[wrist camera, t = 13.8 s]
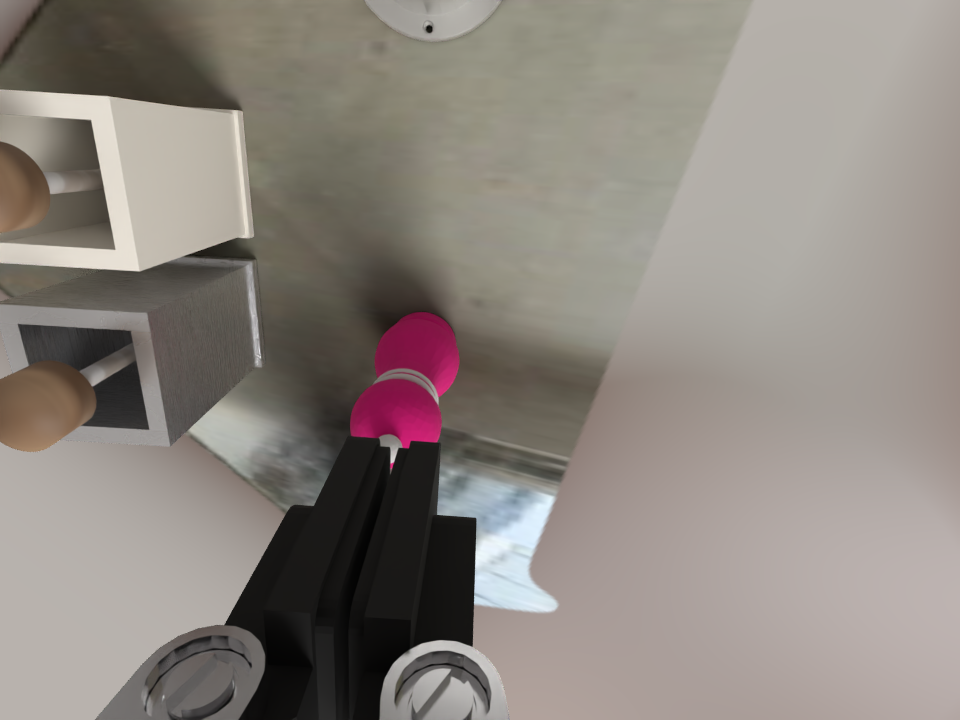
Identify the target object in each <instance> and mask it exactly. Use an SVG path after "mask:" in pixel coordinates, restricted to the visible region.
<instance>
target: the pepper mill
mask: <svg viewBox="0 0 960 720" xmlns="http://www.w3.org/2000/svg"><path fill="white" fill-rule="evenodd" d="M458 367H459V353H458V349H457V346H456V339H455V335H454V333H453V331H452V329H451V327H450V326H449V325H448V323H447V322H446V321H445V320H443V319H442V318H440V317H439V316H436V315H434V314H432V313H427V312H416V313H411V314H409V315H407V316H404V317H403V318H402V319H400V320H399V321H398V322H397V323H396V324H395V325H394V326H392V327H391V328H390V329H389V330H388V331H386V332H385V334H384V335H383V336H382V338H381V340H380V341H379V344H378V347H377V350H376V354H375V369H376V374H377V378H378V379H377V380H376V381H375V382H374V383H373V385H372V386H370V387H369V388H367V389H366V390H365V391H364V392H363V393H362V394H361V396H360V397H359V398H358V400H357V401H356V403H355V405H354V408H353V410H352V414H351V419H350V430H351V435H352V436H356V437H370V438H379V439H380V444H381V446H385V447H390V450H391V465H390V468H392V467H393V464H394V461H395V457H396V454H397V451H398V448H409V445H410V442H411V441H424V442H437V441H438V439H439V436H440V432H441V423H442V420H441V412H440V409H439V407H438V397H440V396H441V395H442V394H443V393H444V392H445V391H446V390H448V388H449V387H450V386H451V384H452V383H453V381H454V379H455V377H456V374H457V371H458Z"/></svg>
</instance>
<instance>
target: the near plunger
mask: <svg viewBox="0 0 960 720" xmlns="http://www.w3.org/2000/svg"><path fill="white" fill-rule="evenodd" d="M97 189H104V185H103V180H102V175H101V169H96V170H76V171H55V172H42V170H41V169H40V167H39V166H38V165H37V164H36V162H35V161H34V160H33V159H32V158H31V157H30V156H29V155H27V154H26V153H25V152H24V151H22V150H21V149H19V148H17V147H15V146H13V145H11V144H8V143H5V142H1V141H0V233H3V232H9V231H15V230H21V229H27V228H31V227H34V226H36V225H37V224H39V223H40V222H41V221H42V220H43V219H44V218H45V216H46V215H47V213H48V211H49V207H50V194H58V193H67V192H77V191H87V190H97Z"/></svg>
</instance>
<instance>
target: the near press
mask: <svg viewBox="0 0 960 720" xmlns="http://www.w3.org/2000/svg"><path fill="white" fill-rule="evenodd" d="M0 141H1V142H5V143H8V144H11V145H13V146H15V147H17V148H19V149H21V150H22V151H24V152H25V153H26V154H27V155H29V156H30V157H31V158H32V159H33V160H34V161H35V162H36V164H37V165H38V166H39V167H40V169H41V170H42V172H55V171H76V170H96V169H101V175H102V180H103V185H104V189H97V190H87V191H77V192H67V193H58V194H50V207H49V211H48V213H47V215H46V216H45V218H44V219H43V220H42V221H41V222H40V223H39V224H37V225H36V226H34V227H31V228H27V229H21V230H15V231H9V232H3V233H0V263H12V264H28V265H44V266H60V267H76V268H93V269H109V270H125V271H142V270H145V269H148V268H151V267H154V266H157V265H160V264H162V263H165V262H168V261H171V260H174V259H177V258H180V257H182V256H185V255H188V254H191V253H194V252H197V251H200V250H203V249H205V248H208V247H211V246H214V245H217V244H220V243H223V242H226V241H228V240H231V239H234V238H252V237H254V229H253V218H252V208H251V197H250V186H249V175H248V165H247V154H246V143H245V132H244V122H243V111H238V110H225V109H210V108H194V107H180V106H173V105H165V104H158V103H151V102H144V101H137V100H130V99H123V98H116V97H109V96H94V95H78V94H63V93H47V92H32V91H17V90H1V89H0Z"/></svg>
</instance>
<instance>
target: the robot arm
mask: <svg viewBox="0 0 960 720" xmlns="http://www.w3.org/2000/svg"><path fill="white" fill-rule="evenodd" d="M364 1H365V3H366V4H367V6H368V7H369V8H370V9H371V10H372V12H373V13H374V14H375V15H376V16H377V17H378V18H379V19H380V20H382V21H383V22H384V23H385V24H386V25H387V26H388V27H390V28H392V29H393V30H395V31H397V32H398V33H400V34H402V35H404V36H407V37H410V38H413V39H416V40H420V41H429V42H439V41H449V40H452V39H455V38H458V37H461V36H464V35H466V34H467V33H469V32H471V31H473V30H474V29H476V28H478V27H479V26H480V25H481V24H482V23H483V22H484V21H486V20H487V19H488V18H489V17H490V16H491V15H492V13H493V12H494V11H495V10H496V8H497V7H498V6H499V4H500V3H501V1H502V0H364ZM428 26H431V27H432V28H433V30H432V32H431V33H428V32H427V31H426V28H427V27H428ZM440 450H441V443H437V442H424V441H411V442H410V445H409V448H398V451H397V454H396V457H395V461H394V464H393V467H392V471H391V474H390V465H391V450H390V447H385V446H381V444H380V439H379V438H370V437H356V436H348V438H347V439H346V442H345V444H344V446H343V448H342V450H341V452H340V454H339V456H338V458H337V460H336V462H335V464H334V466H333V468H332V470H331V472H330V474H329V476H328V478H327V480H326V482H325V484H324V486H323V488H322V490H321V493H320V495H319V497H318V499H317V501H316V503H315V505H314V506H304V505H293V506H292V507H290V509H289V510H288V512H287V513H286V515H285V517H284V519H283V520H282V522H281V524H280V526H279V528H278V530H277V531H276V533H275V535H274V537H273V538H272V540H271V542H270V544H269V545H268V547H267V549H266V551H265V553H264V555H263V556H262V558H261V560H260V562H259V563H258V565H257V567H256V569H255V571H254V572H253V574H252V576H251V578H250V580H249V582H248V583H247V585H246V587H245V589H244V590H243V592H242V594H241V596H240V598H239V600H238V601H237V603H236V605H235V607H234V608H233V610H232V612H231V614H230V616H229V618H228V619H227V621H226V623H225V625H215V626H209V627H204V628H198V629H195V630H193V631H190V632H188V633H185V634H183V635H180V636H178V637H176V638H175V639H173V640H171V641H170V642H168V643H167V644H165V645H163V646H162V647H160V648H159V649H158V650H157V651H156V652H155V653H153V654H152V655H151V656H150V657H149V658H148V659H147V660H146V661H145V662H144V663H143V664H142V665H141V666H140V668H139V669H138V670H137V671H136V672H135V673H134V675H133V676H132V677H131V678H130V680H128V682H127V683H126V684H125V685H124V686H123V687H122V689H121V690H120V691H119V692H118V693H117V694H116V696H115V697H114V698H113V699H112V700H111V701H110V703H109V704H108V705H107V706H106V707H105V708H104V710H103V711H102V712H101V713H100V714H99V716H98V717H97V718H96V719H95V720H510V719H509V714H508V708H507V703H506V698H505V692H504V687H503V685H502V682H501V679H500V676H499V674H498V671H497V670H496V669H495V667H494V666H493V665H492V663H491V662H490V661H489V659H488V658H487V657H486V656H484V655H483V654H482V653H480V652H479V651H477V650H476V649H475V648H473V617H474V584H475V551H476V518H470V517H457V516H443V515H437V503H438V486H439V468H440Z"/></svg>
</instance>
